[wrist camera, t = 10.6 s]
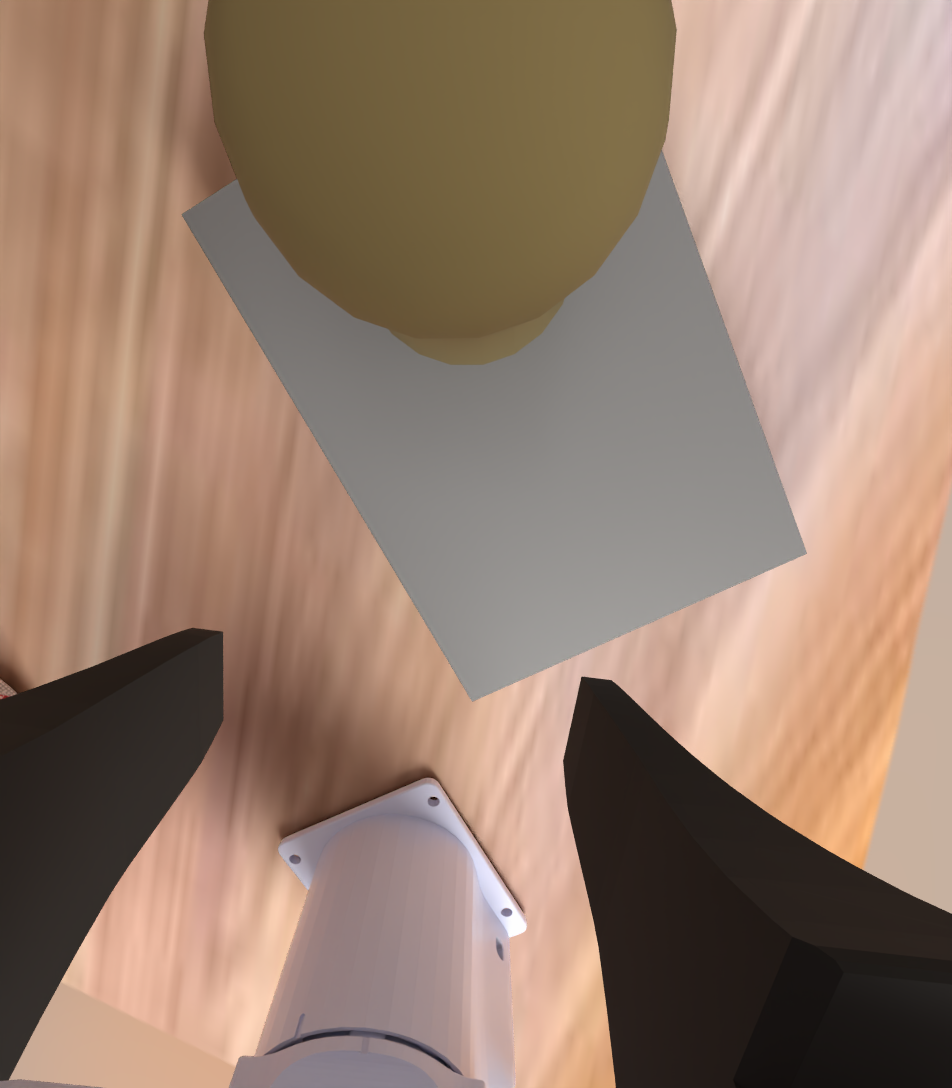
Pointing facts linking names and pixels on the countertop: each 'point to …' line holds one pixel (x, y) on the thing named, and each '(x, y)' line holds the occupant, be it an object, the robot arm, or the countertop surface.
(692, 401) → the gray flat panel
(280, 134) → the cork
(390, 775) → the countertop surface
